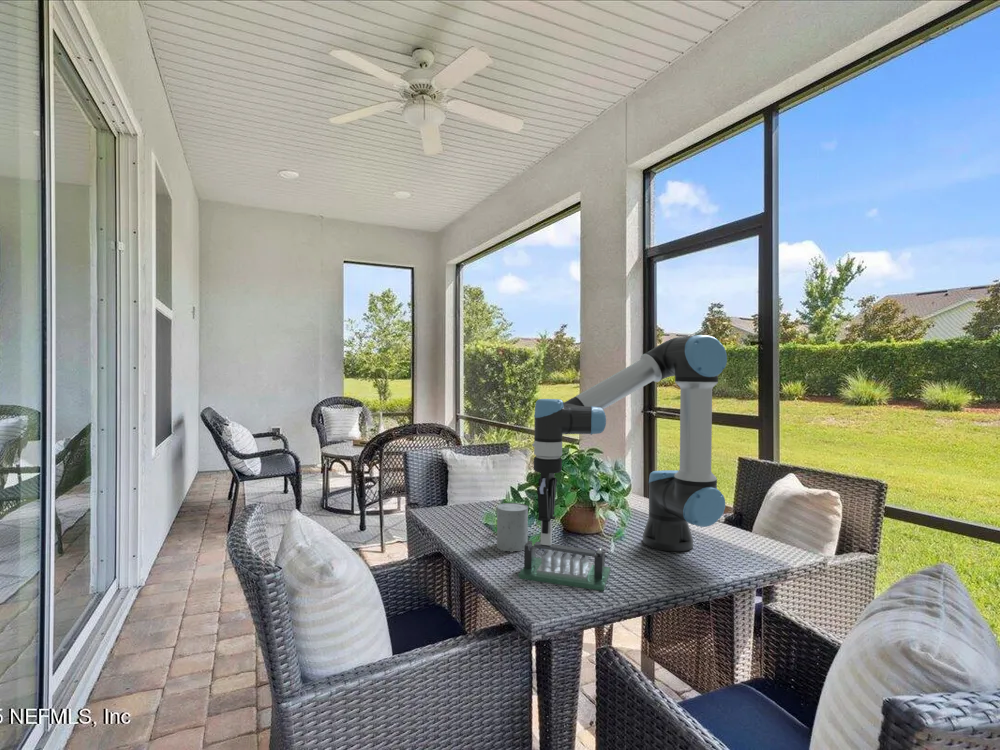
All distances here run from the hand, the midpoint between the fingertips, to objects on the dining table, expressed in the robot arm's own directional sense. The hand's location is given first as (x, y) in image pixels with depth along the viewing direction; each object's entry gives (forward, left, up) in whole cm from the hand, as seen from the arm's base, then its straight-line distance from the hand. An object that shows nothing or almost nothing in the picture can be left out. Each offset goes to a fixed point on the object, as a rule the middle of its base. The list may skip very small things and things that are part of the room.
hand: (546, 544), depth 140 cm
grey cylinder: (+15, -16, -8) cm, 23 cm away
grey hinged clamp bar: (-6, 0, -1) cm, 6 cm away
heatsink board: (-5, 0, -8) cm, 9 cm away
